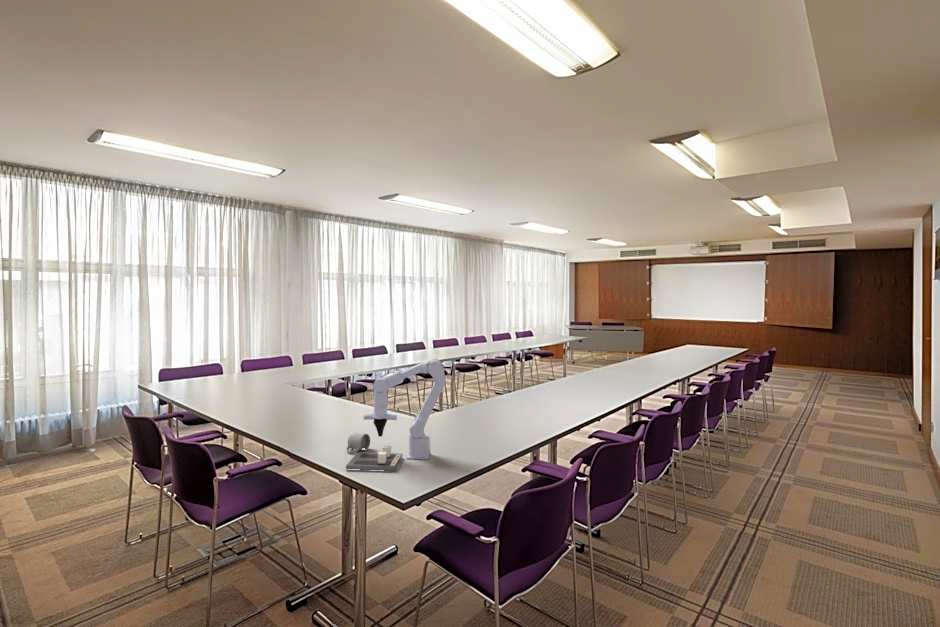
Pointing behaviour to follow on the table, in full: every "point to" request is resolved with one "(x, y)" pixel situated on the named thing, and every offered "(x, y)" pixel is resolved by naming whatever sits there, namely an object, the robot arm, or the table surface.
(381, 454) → the switch tab
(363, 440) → the ceramic mug
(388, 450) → the switch tab
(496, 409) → the table surface
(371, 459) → the switch panel
